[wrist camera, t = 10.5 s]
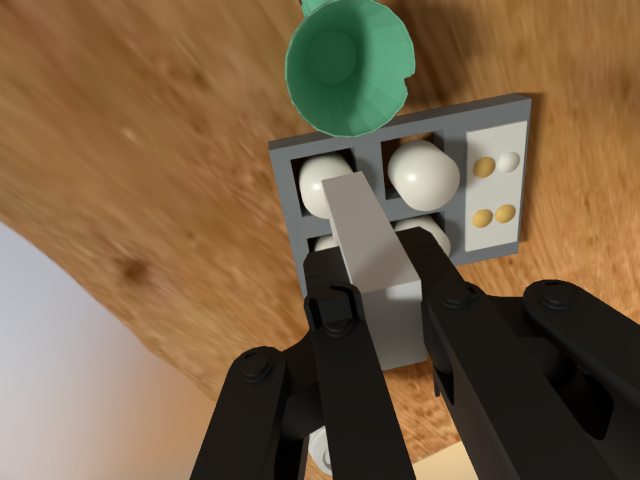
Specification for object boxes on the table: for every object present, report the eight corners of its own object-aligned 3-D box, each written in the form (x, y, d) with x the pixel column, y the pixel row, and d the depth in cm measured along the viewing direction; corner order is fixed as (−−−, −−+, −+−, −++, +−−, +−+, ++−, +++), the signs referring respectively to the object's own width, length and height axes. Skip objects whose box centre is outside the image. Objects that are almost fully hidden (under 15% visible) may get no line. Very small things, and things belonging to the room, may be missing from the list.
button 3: (386, 216, 48) (398, 235, 44) (434, 206, 48) (450, 224, 44) (390, 257, 50) (401, 278, 46) (435, 248, 50) (450, 268, 47)
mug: (395, 85, 42) (431, 106, 33) (305, 127, 42) (316, 158, 34) (341, -87, 34) (369, -118, 26) (234, -32, 35) (226, -44, 27)
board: (268, 141, 43) (269, 152, 40) (515, 92, 43) (535, 99, 40) (300, 283, 52) (303, 301, 49) (505, 240, 52) (520, 255, 49)
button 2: (293, 156, 43) (296, 171, 39) (347, 145, 43) (355, 159, 39) (303, 205, 46) (307, 223, 42) (353, 195, 46) (362, 212, 42)
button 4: (385, 145, 41) (398, 160, 37) (441, 134, 41) (460, 148, 37) (389, 197, 44) (402, 216, 40) (442, 186, 44) (459, 204, 40)
